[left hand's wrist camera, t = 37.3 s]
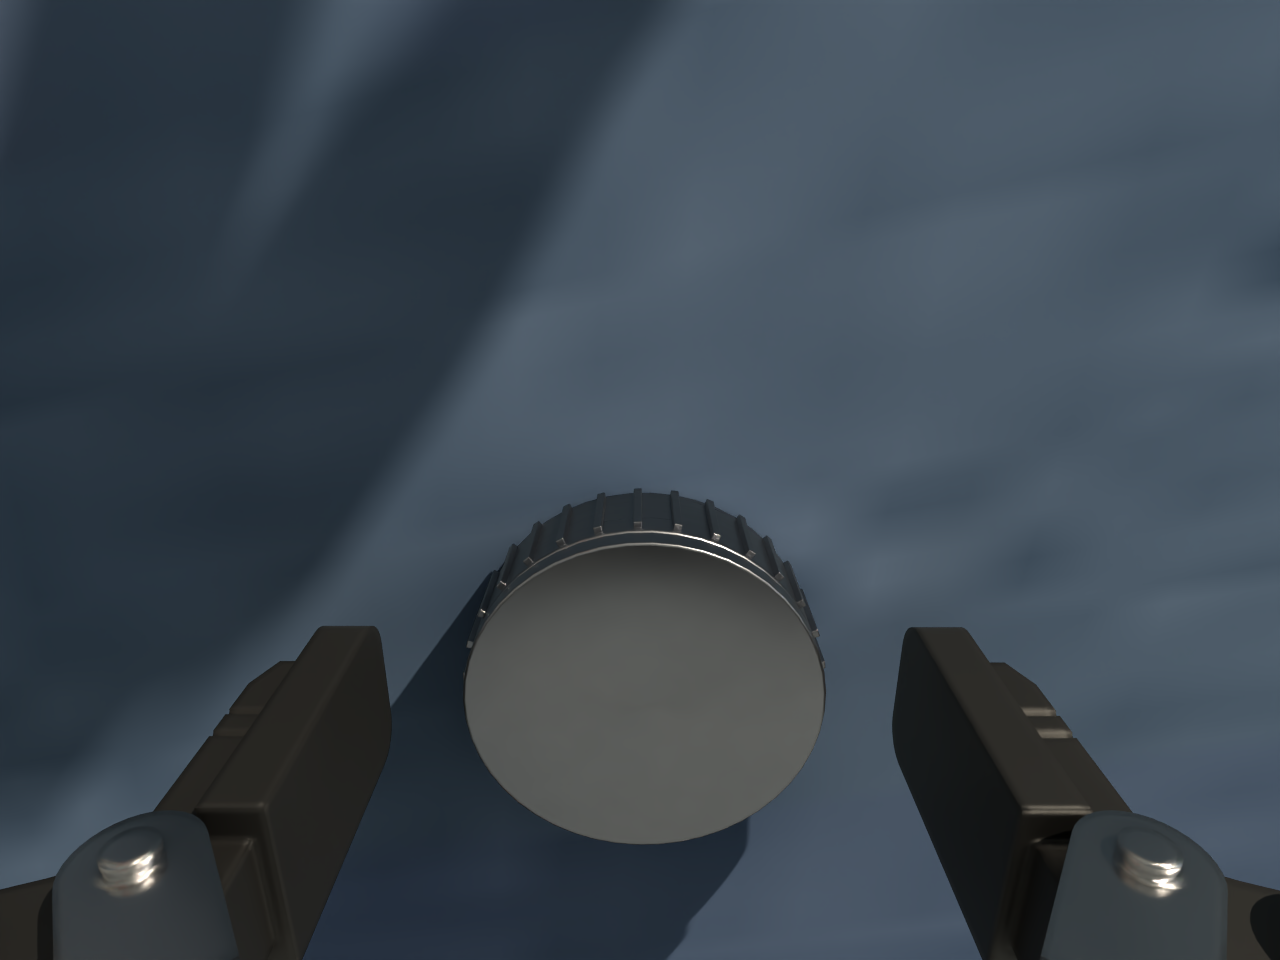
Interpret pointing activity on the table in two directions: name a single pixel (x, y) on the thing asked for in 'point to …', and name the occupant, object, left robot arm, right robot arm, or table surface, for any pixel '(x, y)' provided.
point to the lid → (644, 670)
